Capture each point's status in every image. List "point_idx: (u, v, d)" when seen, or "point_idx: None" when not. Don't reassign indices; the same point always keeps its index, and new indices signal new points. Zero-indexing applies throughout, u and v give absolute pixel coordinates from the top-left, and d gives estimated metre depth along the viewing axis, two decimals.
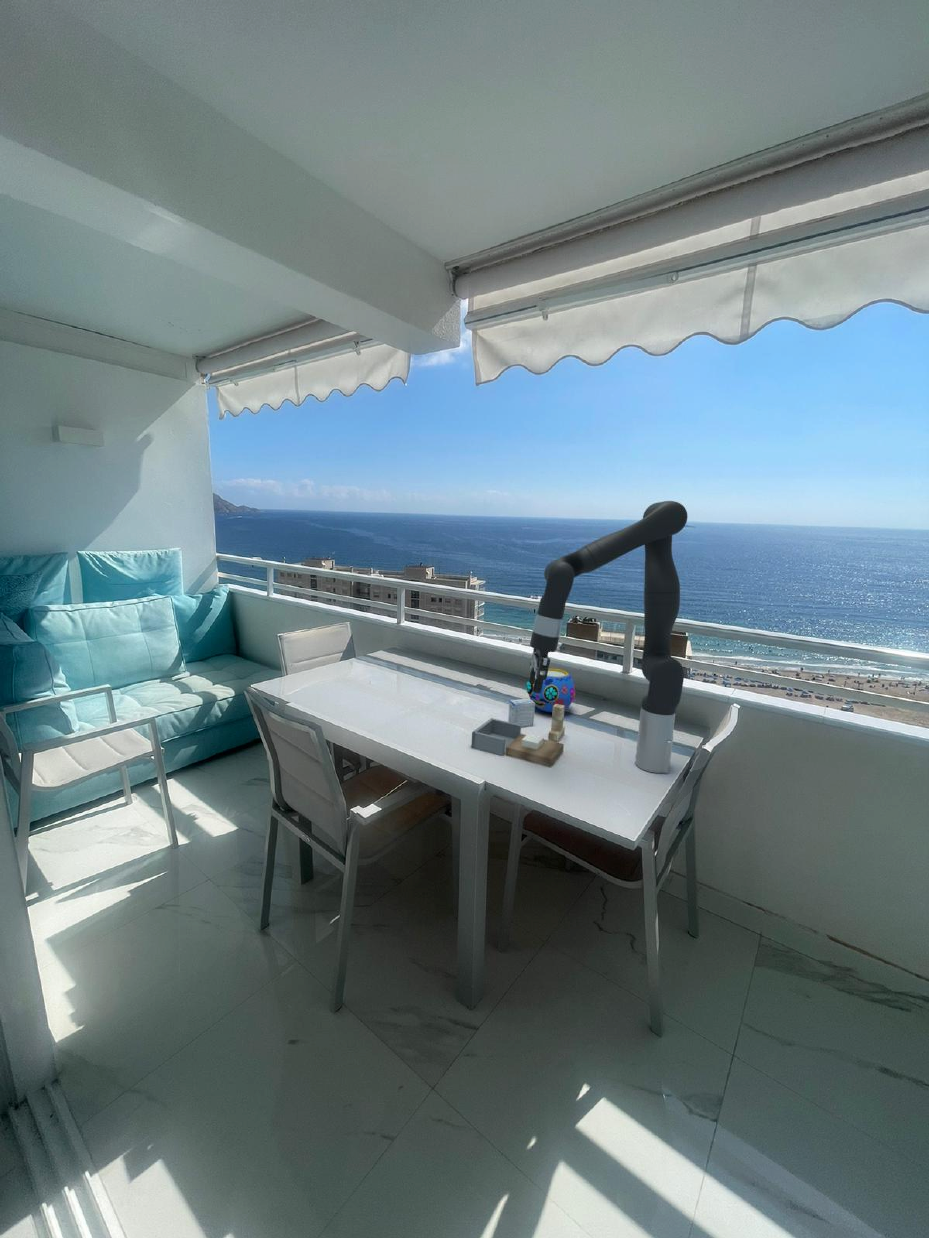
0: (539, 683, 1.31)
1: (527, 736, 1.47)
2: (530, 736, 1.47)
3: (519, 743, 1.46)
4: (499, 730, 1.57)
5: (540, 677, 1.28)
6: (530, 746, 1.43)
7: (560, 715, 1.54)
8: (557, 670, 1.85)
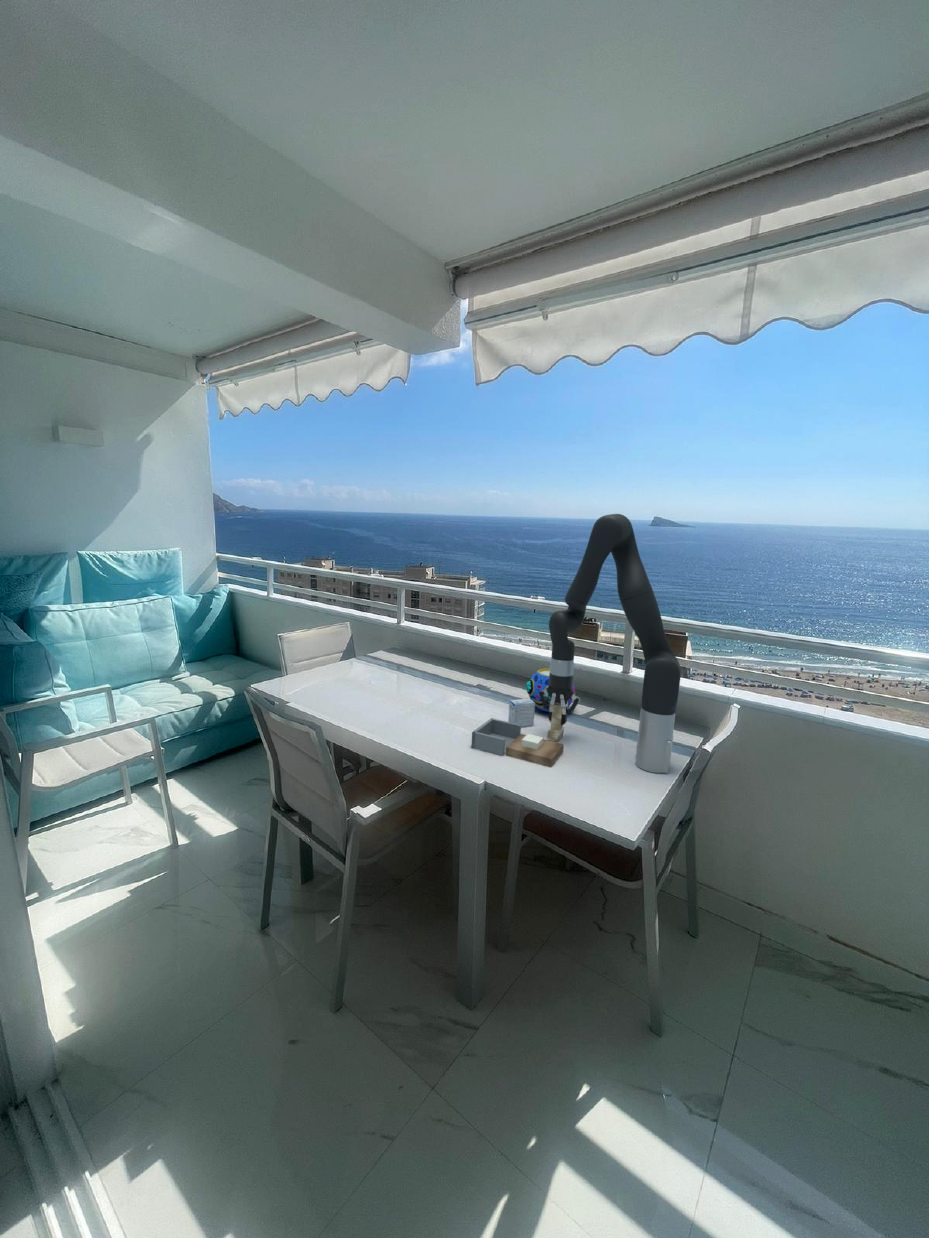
0: None
1: (527, 736, 1.47)
2: (530, 736, 1.47)
3: (519, 743, 1.46)
4: (499, 730, 1.57)
5: None
6: (530, 746, 1.43)
7: (560, 713, 1.54)
8: None
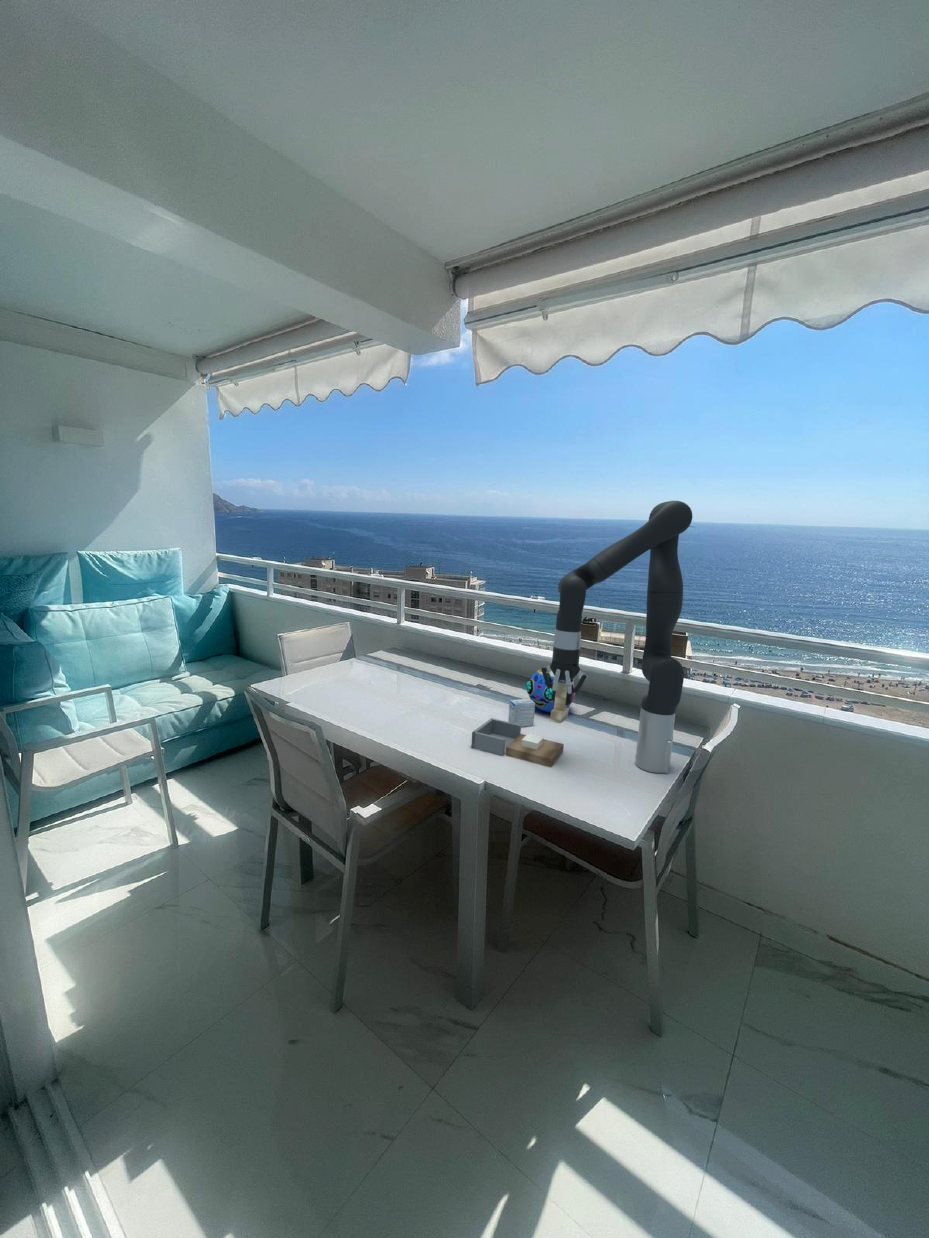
0: None
1: (527, 736, 1.47)
2: (530, 736, 1.47)
3: (519, 743, 1.46)
4: (499, 730, 1.57)
5: None
6: (530, 746, 1.43)
7: (565, 692, 1.37)
8: None
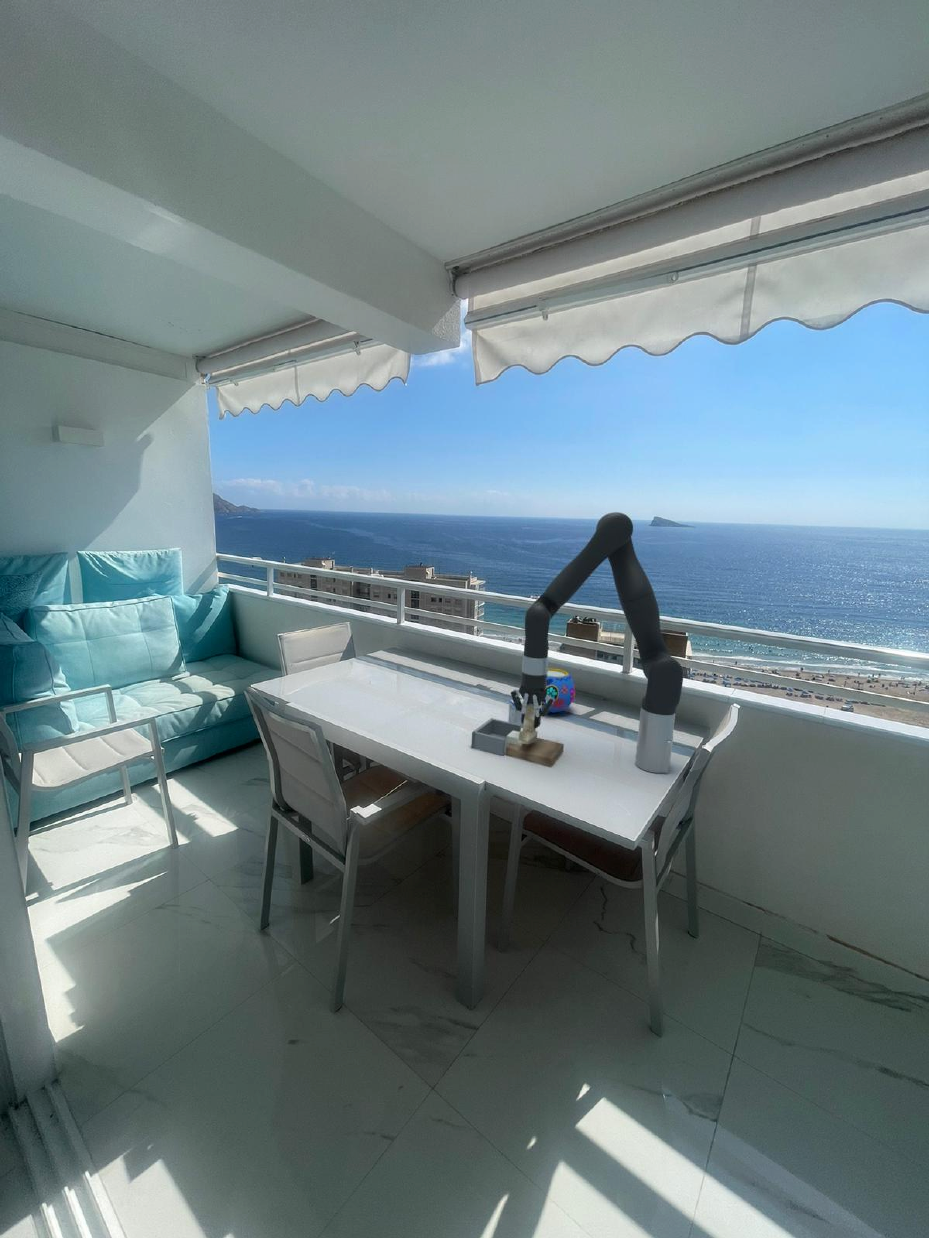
0: None
1: (512, 732, 1.49)
2: (515, 732, 1.49)
3: None
4: (499, 730, 1.57)
5: None
6: (515, 742, 1.45)
7: (533, 714, 1.42)
8: (557, 670, 1.85)
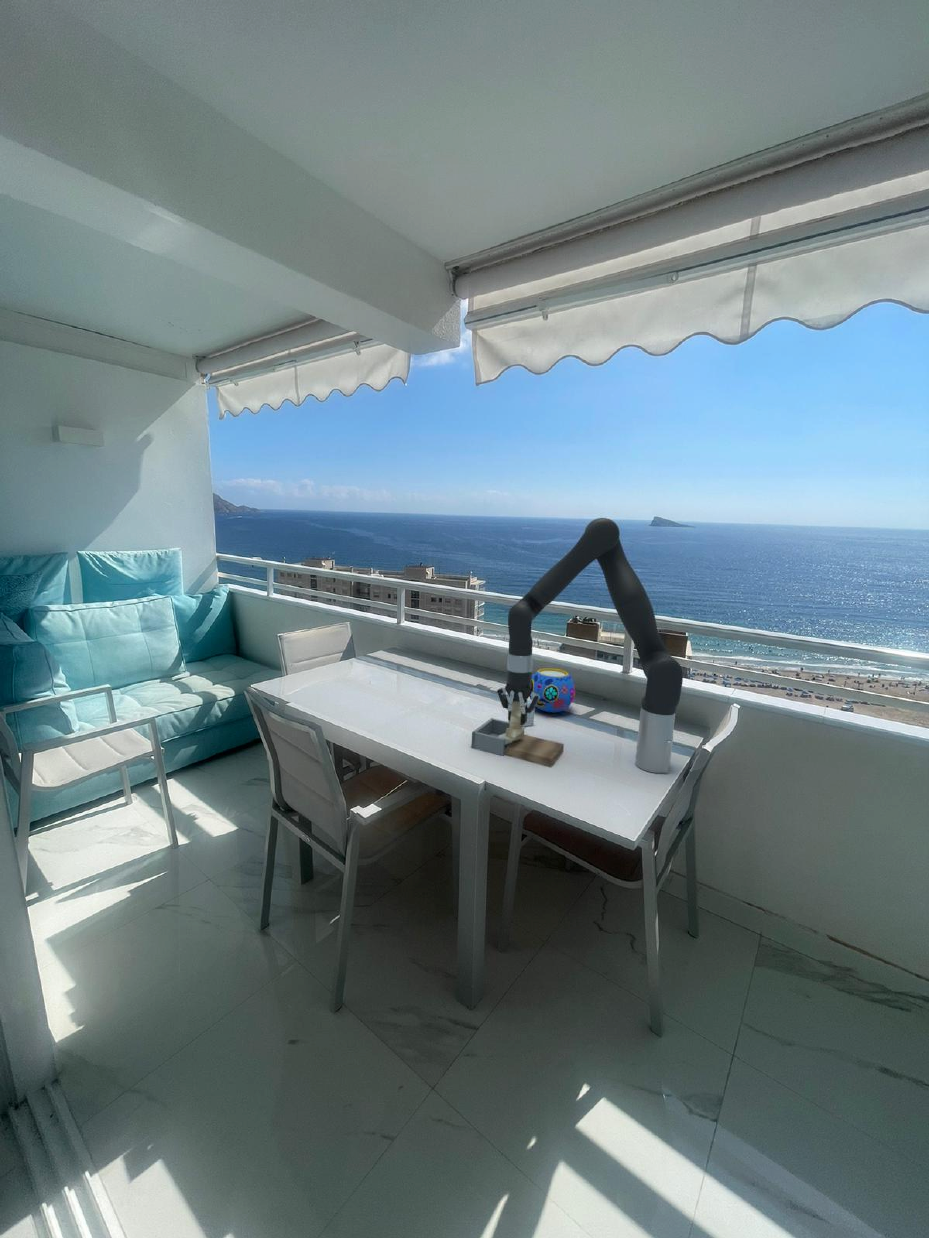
0: None
1: (499, 737, 1.51)
2: (501, 735, 1.51)
3: (519, 743, 1.46)
4: (499, 730, 1.57)
5: None
6: None
7: (520, 711, 1.45)
8: (557, 670, 1.85)
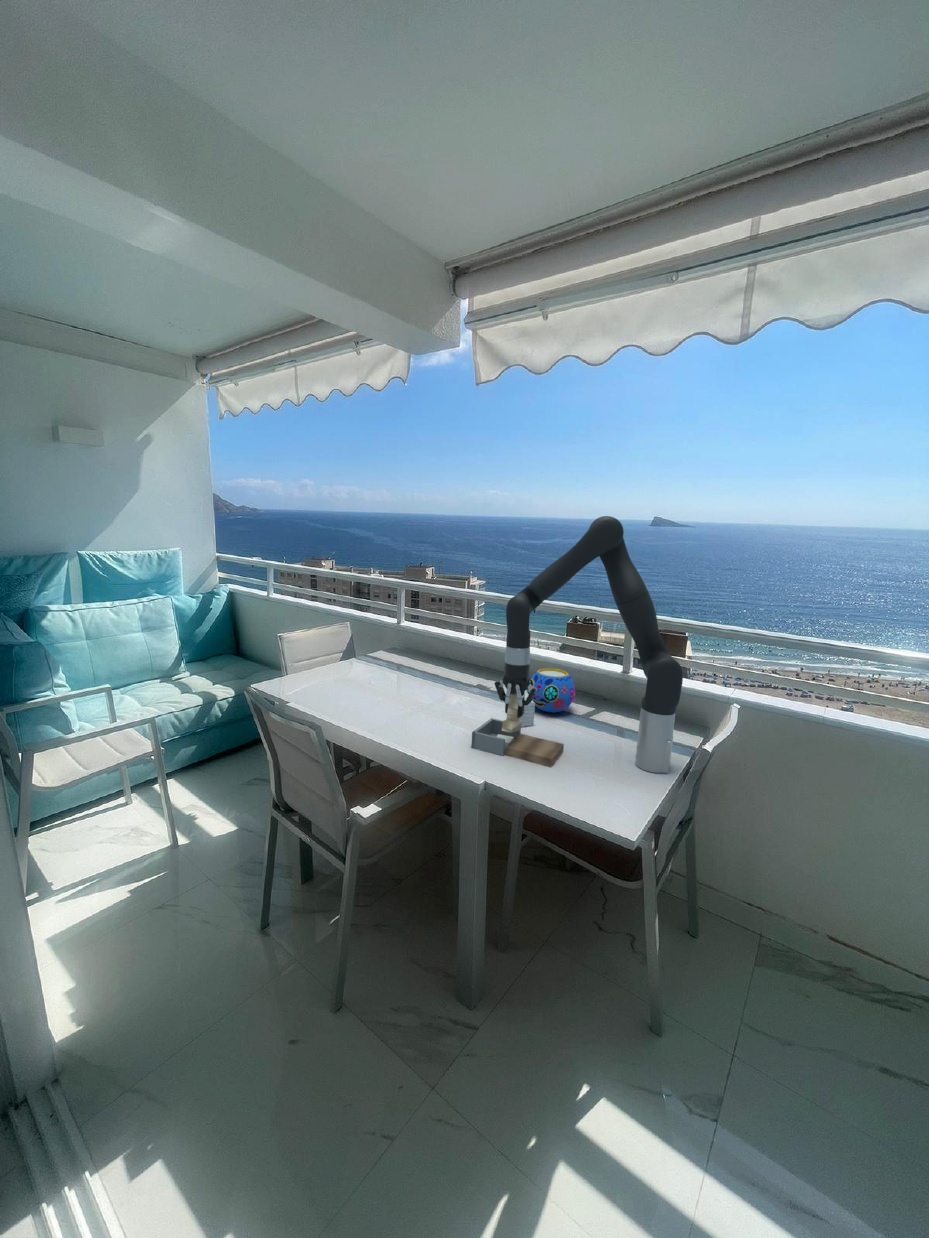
0: None
1: (498, 736, 1.51)
2: (501, 736, 1.51)
3: (519, 743, 1.46)
4: (499, 730, 1.57)
5: None
6: None
7: (517, 703, 1.45)
8: (557, 670, 1.85)
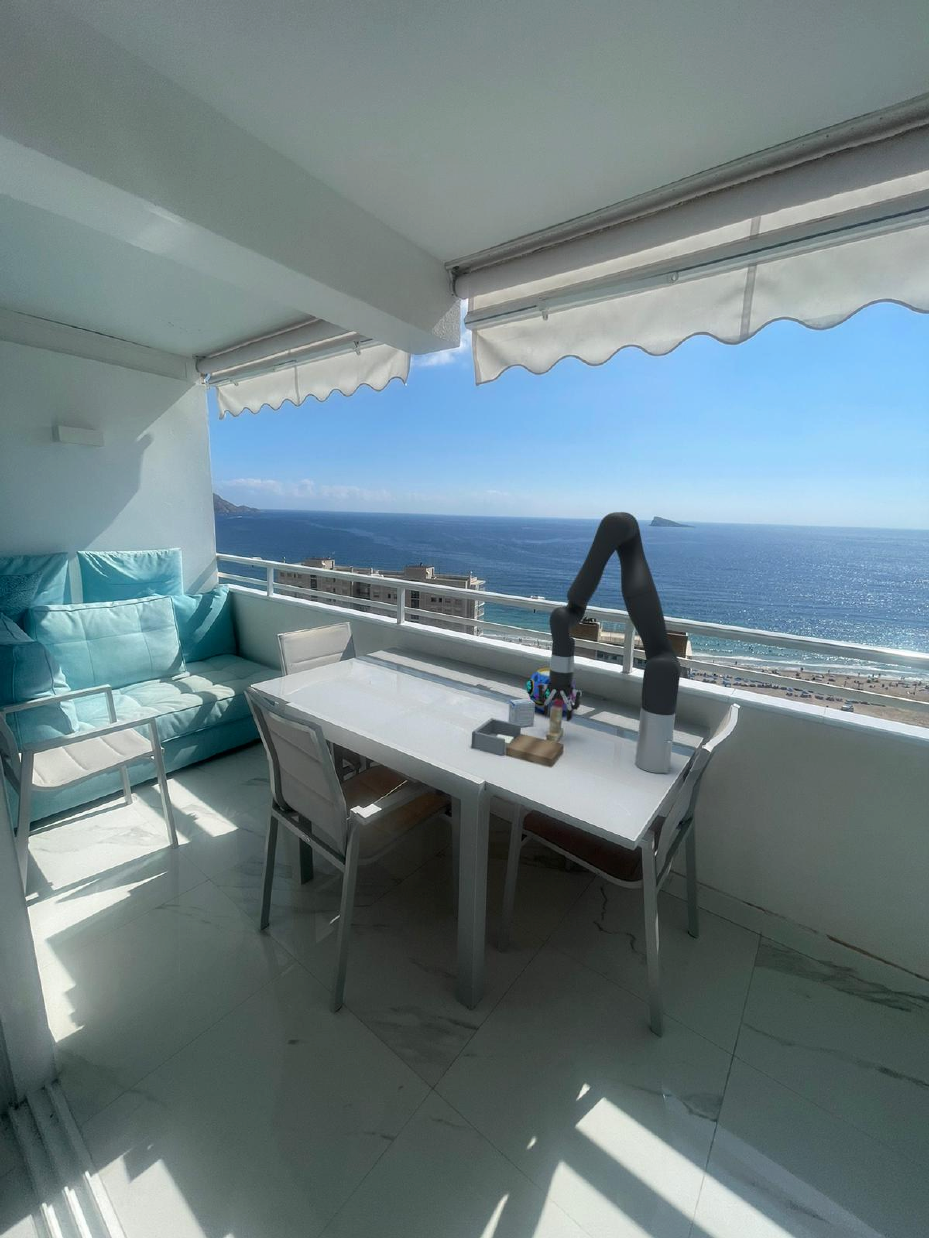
0: None
1: (498, 736, 1.51)
2: (501, 736, 1.51)
3: (519, 743, 1.46)
4: (499, 730, 1.57)
5: None
6: None
7: (558, 717, 1.53)
8: None
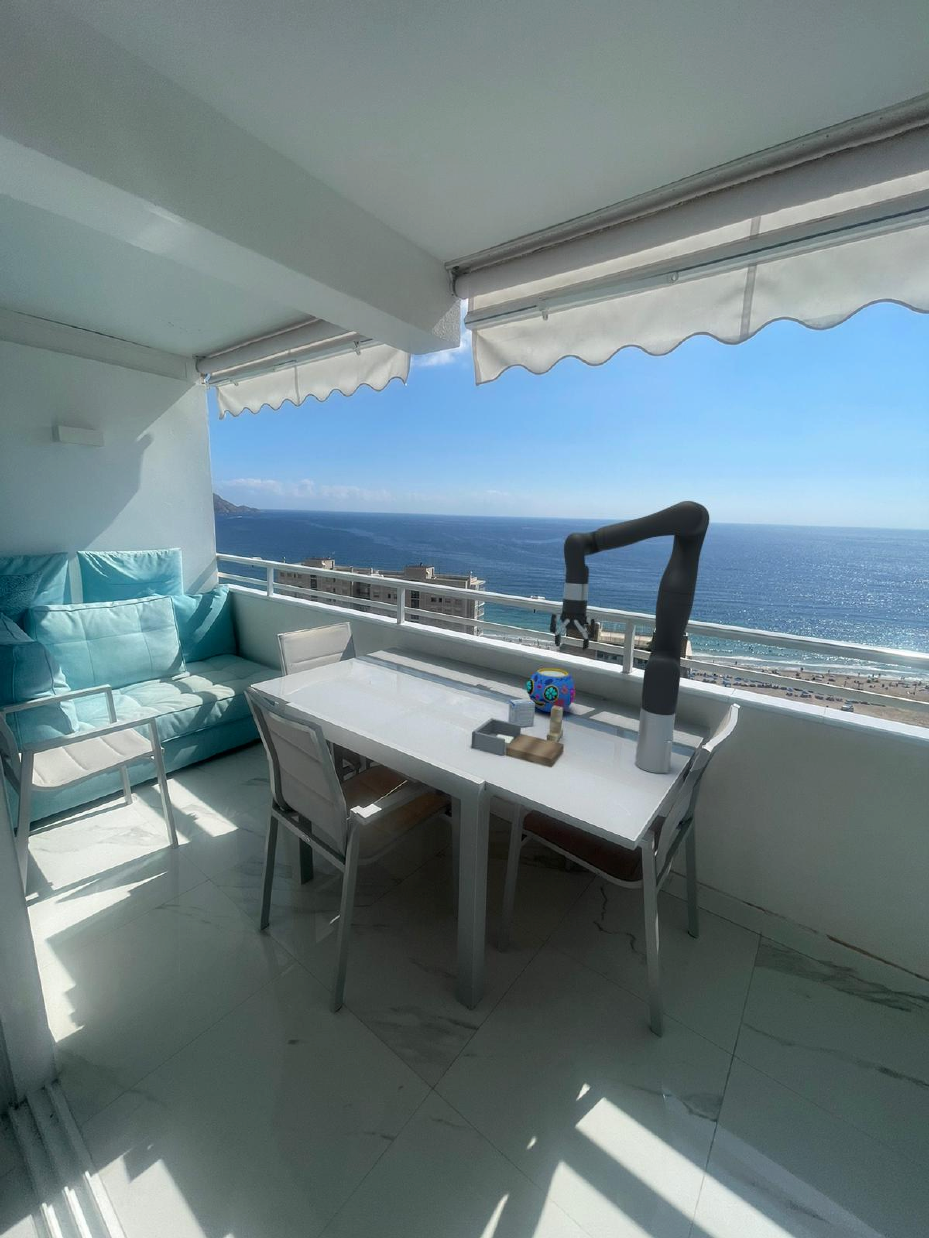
0: None
1: (498, 736, 1.51)
2: (501, 736, 1.51)
3: (519, 743, 1.46)
4: (499, 730, 1.57)
5: None
6: None
7: (558, 717, 1.53)
8: (557, 670, 1.85)
